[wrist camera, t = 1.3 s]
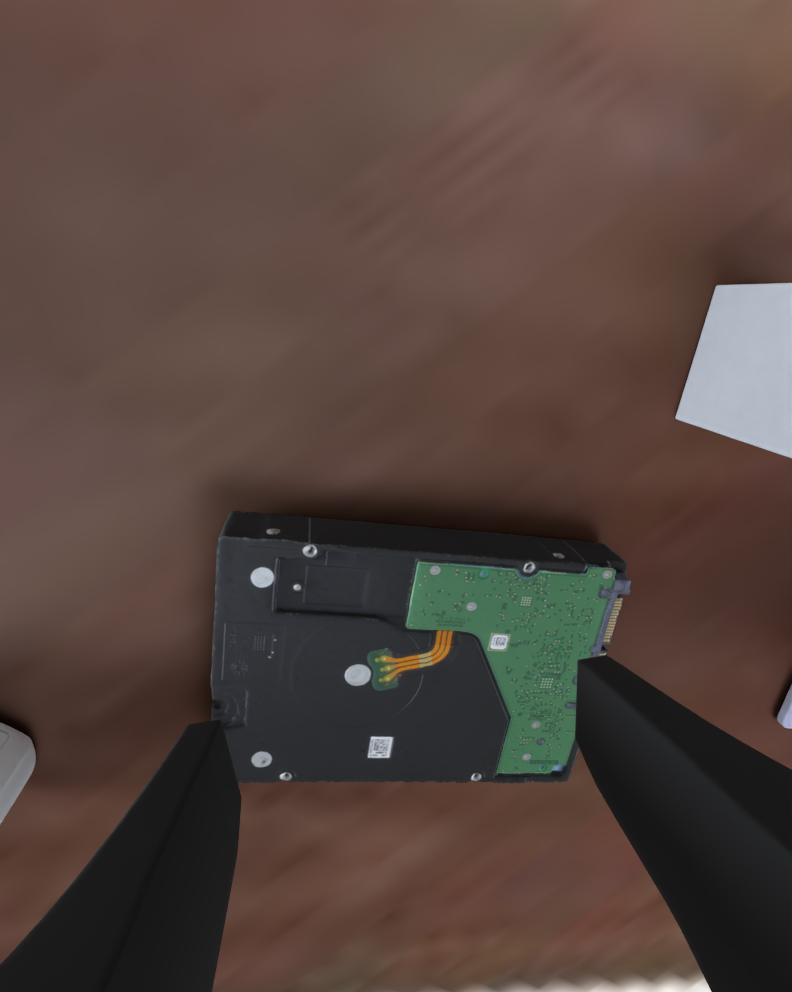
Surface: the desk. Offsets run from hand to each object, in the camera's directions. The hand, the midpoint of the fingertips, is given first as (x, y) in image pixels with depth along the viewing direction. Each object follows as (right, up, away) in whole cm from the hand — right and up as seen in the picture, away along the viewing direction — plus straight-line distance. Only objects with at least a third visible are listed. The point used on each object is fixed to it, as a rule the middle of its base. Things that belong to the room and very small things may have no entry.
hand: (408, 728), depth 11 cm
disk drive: (0, -1, +12) cm, 12 cm away
